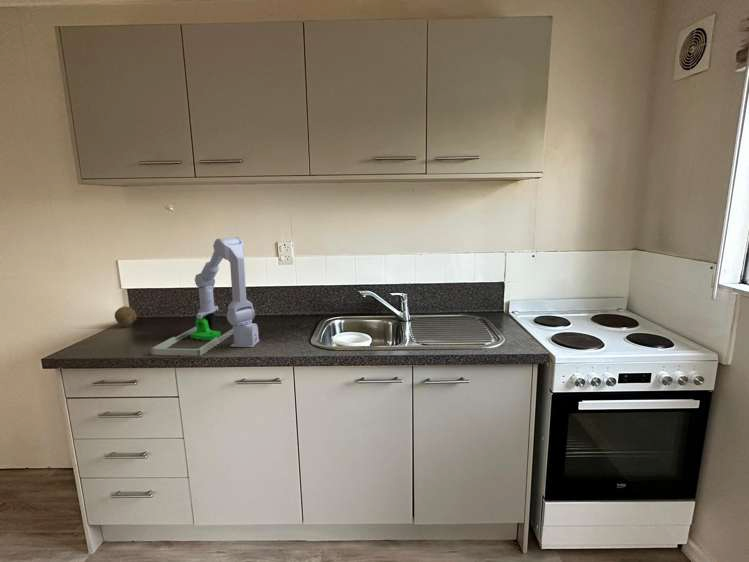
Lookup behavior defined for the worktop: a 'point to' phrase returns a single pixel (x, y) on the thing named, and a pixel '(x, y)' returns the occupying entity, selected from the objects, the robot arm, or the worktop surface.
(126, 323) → the natural sponge
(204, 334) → the mechanical part
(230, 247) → the robot arm
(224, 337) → the slot rails
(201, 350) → the tray
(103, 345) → the worktop surface
